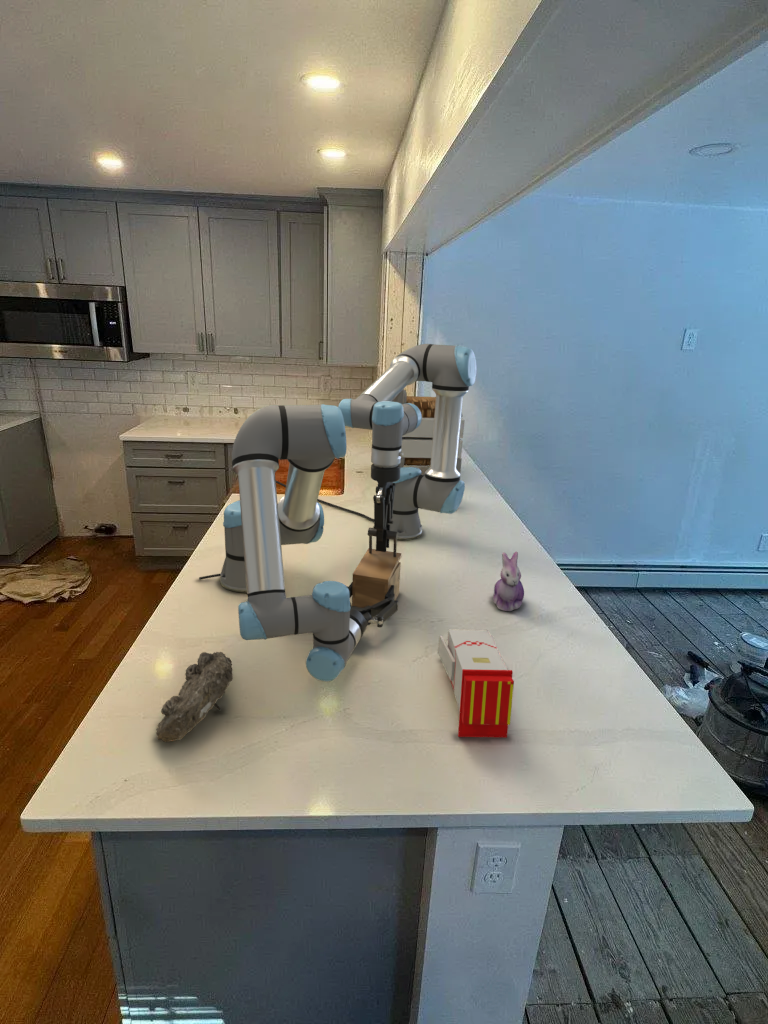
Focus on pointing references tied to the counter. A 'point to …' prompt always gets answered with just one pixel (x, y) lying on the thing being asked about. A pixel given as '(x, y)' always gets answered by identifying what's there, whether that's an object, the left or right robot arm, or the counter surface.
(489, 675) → the toy
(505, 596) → the figurine
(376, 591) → the chest
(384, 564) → the lid
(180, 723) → the fossil
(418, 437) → the white slatted crate
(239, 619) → the left robot arm
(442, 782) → the counter surface
